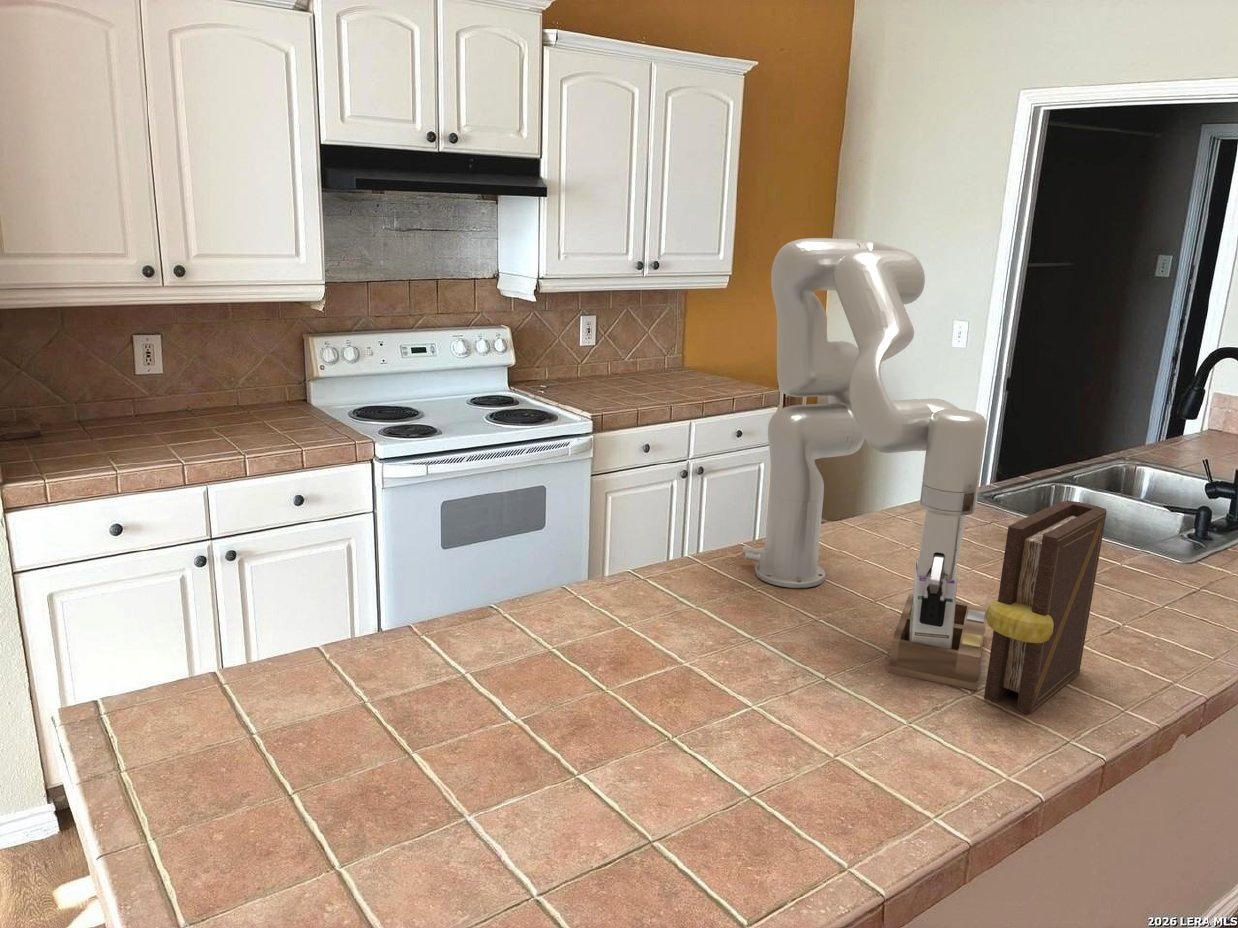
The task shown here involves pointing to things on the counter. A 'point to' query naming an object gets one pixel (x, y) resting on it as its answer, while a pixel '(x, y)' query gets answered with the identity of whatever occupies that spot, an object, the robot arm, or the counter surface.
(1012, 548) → the book
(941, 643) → the syrup box
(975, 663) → the socket block
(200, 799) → the counter surface
